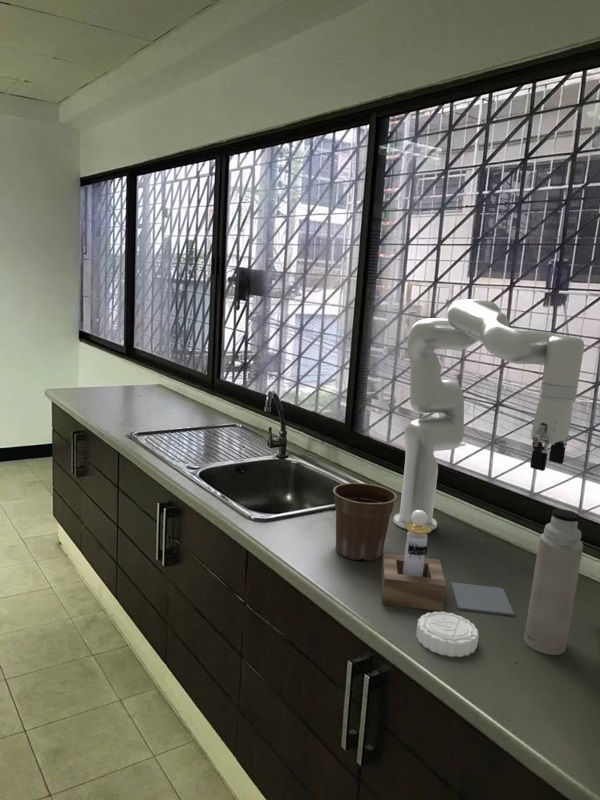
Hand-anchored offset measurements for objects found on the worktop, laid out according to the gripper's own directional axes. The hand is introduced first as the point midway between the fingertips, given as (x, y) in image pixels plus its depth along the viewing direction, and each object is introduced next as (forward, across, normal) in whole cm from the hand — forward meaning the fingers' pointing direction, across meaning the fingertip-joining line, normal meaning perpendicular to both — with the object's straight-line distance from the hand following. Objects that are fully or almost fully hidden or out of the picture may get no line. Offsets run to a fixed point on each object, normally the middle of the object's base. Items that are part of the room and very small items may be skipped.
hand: (546, 465), depth 148 cm
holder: (+31, +24, -17) cm, 42 cm away
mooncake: (+31, +34, -1) cm, 46 cm away
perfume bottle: (+31, +24, -17) cm, 43 cm away
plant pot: (+31, +16, -39) cm, 52 cm away
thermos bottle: (+31, +20, +13) cm, 39 cm away
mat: (+31, +13, -5) cm, 34 cm away
